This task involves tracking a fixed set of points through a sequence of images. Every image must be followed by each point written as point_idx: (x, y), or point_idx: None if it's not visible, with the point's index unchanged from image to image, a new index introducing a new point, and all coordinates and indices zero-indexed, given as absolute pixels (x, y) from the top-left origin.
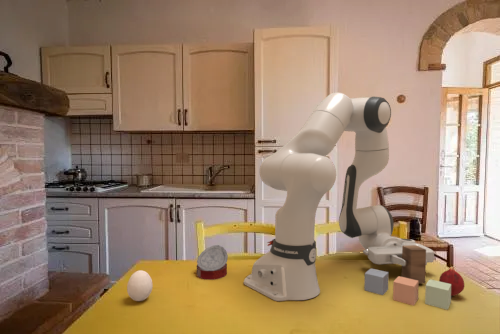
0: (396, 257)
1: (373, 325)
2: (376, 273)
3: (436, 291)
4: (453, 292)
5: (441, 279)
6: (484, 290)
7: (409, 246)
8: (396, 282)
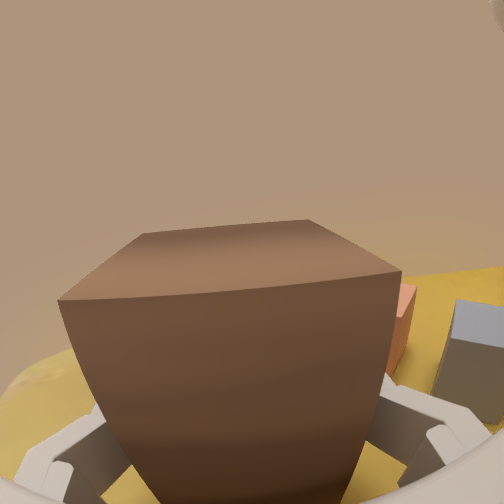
0: (438, 398)
1: (431, 279)
2: (490, 317)
3: None
4: None
5: None
6: (18, 385)
7: (270, 258)
8: (407, 284)
